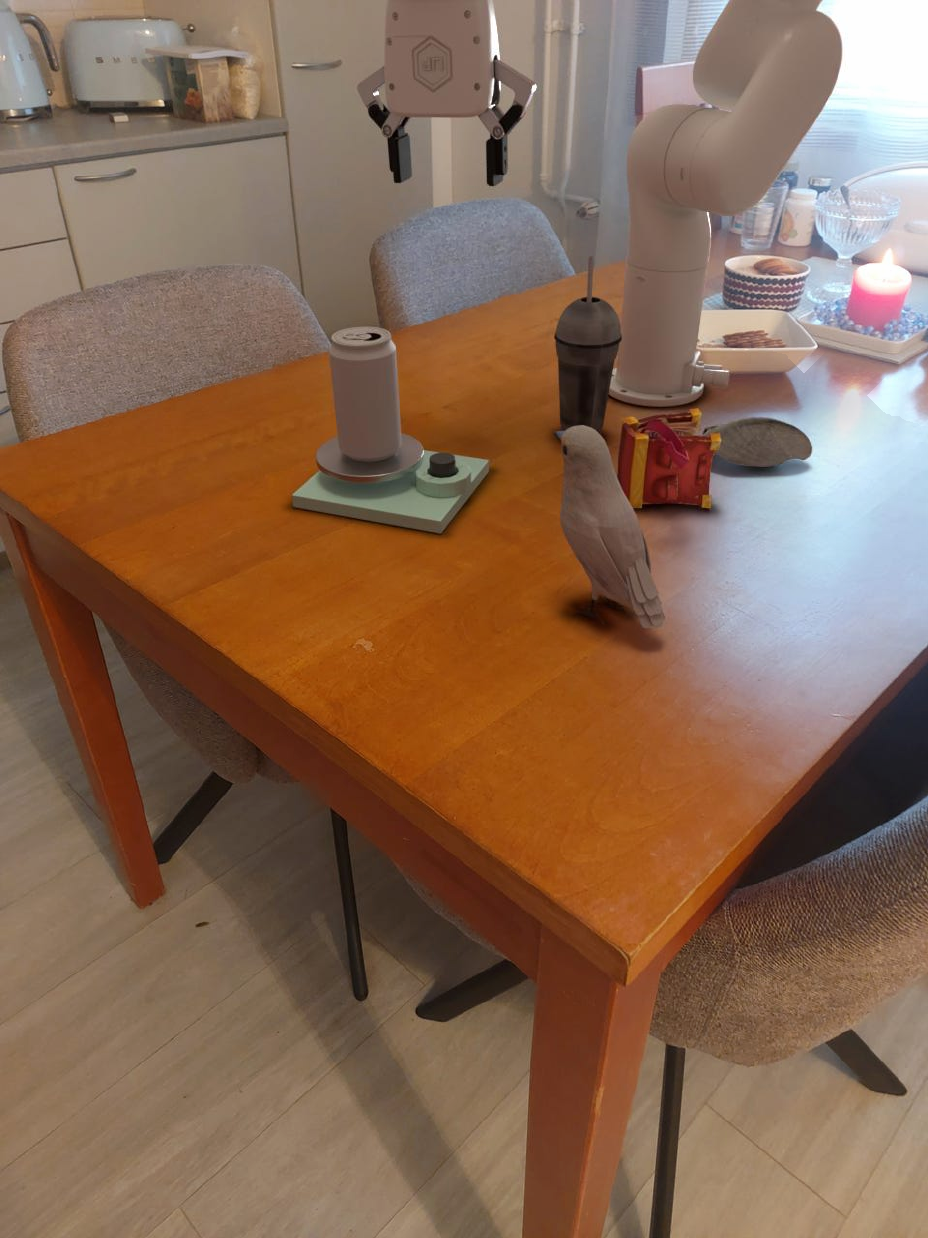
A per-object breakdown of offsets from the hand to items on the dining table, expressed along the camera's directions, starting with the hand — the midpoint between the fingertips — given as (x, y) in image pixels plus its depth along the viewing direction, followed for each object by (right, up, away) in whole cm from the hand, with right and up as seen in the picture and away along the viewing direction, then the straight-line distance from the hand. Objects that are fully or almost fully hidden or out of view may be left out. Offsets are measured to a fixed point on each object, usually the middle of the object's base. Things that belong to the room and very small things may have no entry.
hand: (448, 181), depth 88 cm
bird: (+13, -42, -13) cm, 46 cm away
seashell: (+33, -26, +10) cm, 43 cm away
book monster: (+21, -32, +1) cm, 39 cm away
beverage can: (-8, -26, +4) cm, 27 cm away
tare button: (-1, -28, +2) cm, 28 cm away
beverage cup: (+15, -22, +15) cm, 31 cm away
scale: (-6, -29, +5) cm, 30 cm away
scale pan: (-8, -27, +4) cm, 28 cm away
